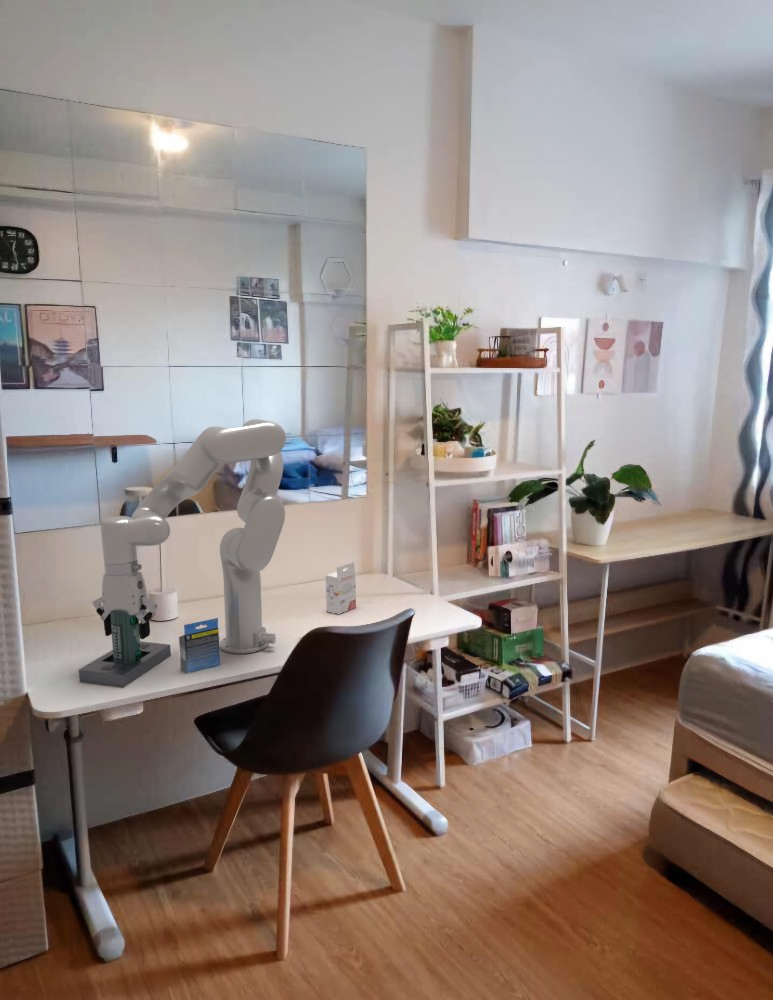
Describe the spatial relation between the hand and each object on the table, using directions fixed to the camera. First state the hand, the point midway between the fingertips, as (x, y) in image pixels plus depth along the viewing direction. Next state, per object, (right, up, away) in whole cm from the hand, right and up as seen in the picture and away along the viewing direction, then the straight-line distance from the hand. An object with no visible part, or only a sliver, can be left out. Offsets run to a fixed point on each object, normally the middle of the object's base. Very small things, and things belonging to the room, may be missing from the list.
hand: (127, 635), depth 184 cm
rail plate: (-1, -8, +1) cm, 8 cm away
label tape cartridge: (+17, -8, +2) cm, 19 cm away
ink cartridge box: (+49, -1, +45) cm, 67 cm away
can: (0, -8, +1) cm, 9 cm away
